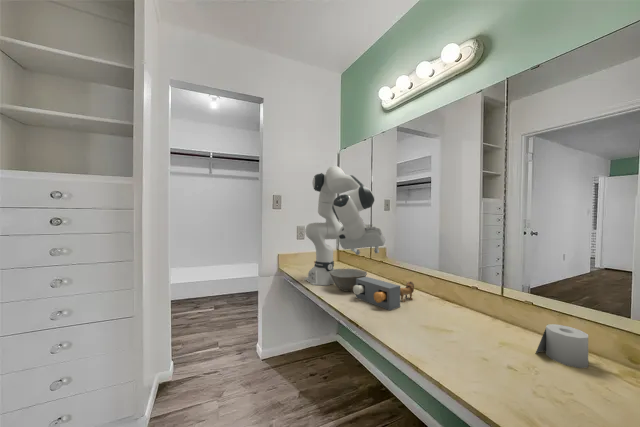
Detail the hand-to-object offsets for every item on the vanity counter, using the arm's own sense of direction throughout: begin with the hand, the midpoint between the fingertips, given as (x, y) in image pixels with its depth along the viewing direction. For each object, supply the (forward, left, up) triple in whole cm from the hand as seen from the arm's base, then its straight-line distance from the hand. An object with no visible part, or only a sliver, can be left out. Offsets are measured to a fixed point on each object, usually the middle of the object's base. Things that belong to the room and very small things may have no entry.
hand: (367, 253), depth 113 cm
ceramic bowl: (-32, +17, -27) cm, 45 cm away
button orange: (0, +9, -23) cm, 25 cm away
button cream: (-14, +9, -23) cm, 28 cm away
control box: (-7, +14, -27) cm, 31 cm away
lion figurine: (-1, +28, -27) cm, 39 cm away
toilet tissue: (+60, +22, -27) cm, 69 cm away
